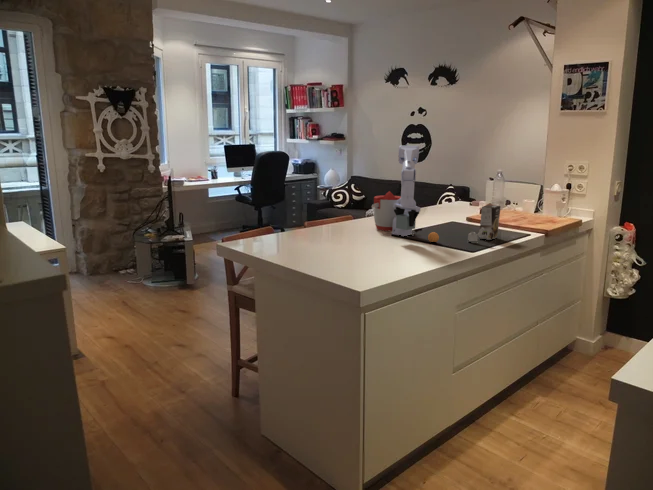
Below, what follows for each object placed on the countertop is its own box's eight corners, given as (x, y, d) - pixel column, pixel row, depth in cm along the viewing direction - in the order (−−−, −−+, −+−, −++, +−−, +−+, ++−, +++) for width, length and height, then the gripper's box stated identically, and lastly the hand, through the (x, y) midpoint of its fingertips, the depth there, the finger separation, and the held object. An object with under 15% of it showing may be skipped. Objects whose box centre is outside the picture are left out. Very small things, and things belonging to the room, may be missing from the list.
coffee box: (491, 241, 244) (494, 208, 241) (478, 239, 248) (481, 206, 244) (498, 238, 251) (501, 205, 248) (485, 236, 255) (488, 204, 251)
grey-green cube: (396, 227, 237) (396, 215, 235) (404, 226, 241) (405, 213, 239) (406, 230, 232) (406, 217, 231) (415, 228, 236) (415, 215, 235)
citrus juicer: (364, 227, 272) (365, 190, 267) (392, 225, 279) (394, 189, 275) (379, 233, 258) (381, 193, 254) (408, 231, 265) (410, 192, 261)
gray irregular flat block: (467, 242, 241) (468, 226, 239) (469, 242, 242) (470, 225, 240) (482, 245, 236) (483, 228, 235) (483, 244, 238) (485, 227, 236)
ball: (425, 242, 239) (426, 232, 238) (432, 241, 242) (432, 230, 241) (434, 244, 236) (434, 233, 234) (440, 243, 239) (441, 232, 238)
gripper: (389, 194, 236) (388, 223, 239) (413, 198, 225) (412, 228, 228) (399, 193, 240) (398, 222, 243) (424, 197, 229) (422, 226, 233)
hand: (405, 225), depth 236 cm, fingers closed on grey-green cube, 6 cm apart
